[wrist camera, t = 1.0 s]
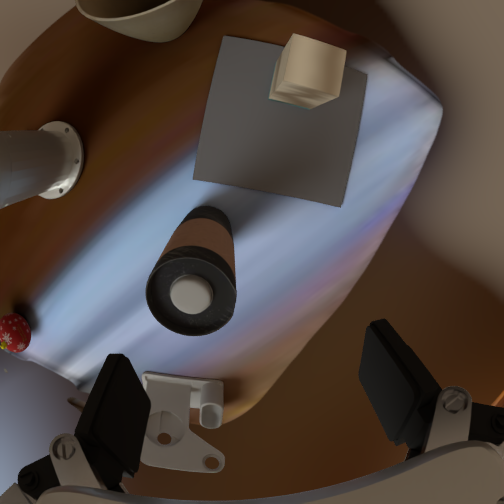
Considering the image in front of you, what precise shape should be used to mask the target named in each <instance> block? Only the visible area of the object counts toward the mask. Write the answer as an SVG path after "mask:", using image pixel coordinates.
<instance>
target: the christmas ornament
mask: <svg viewBox="0 0 504 504" xmlns="http://www.w3.org/2000/svg"><path fill="white" fill-rule="evenodd" d="M30 340H31V330H30V327H29V324H28V323H27V321H26V320H25V319H24V318H23V317H22V316H21V315H19V314H16V313H8V314H6V315H4V316H3V317H2V319H1V320H0V341H1V342H2V343H1V348H2V349H5V348H7V349H8V350H10V351H12V352H22V351H24V350H25V349H26V348H27V347H28V346H29V344H30Z"/></svg>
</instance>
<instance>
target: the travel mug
mask: <svg viewBox="0 0 504 504" xmlns="http://www.w3.org/2000/svg"><path fill="white" fill-rule="evenodd" d="M236 296H237V291H236V277H235V256H234V243H233V237H232V231H231V226H230V222H229V220H228V218H227V216H226V215H225V214H224V213H223V212H222V211H221V210H219V209H217V208H215V207H212V206H201V207H198V208H195V209H193V210H192V211H191V212H190V213H188V215H187V216H186V217H185V218H184V220H183V221H182V222H181V223H180V225H179V226H178V227H177V229H176V230H175V231H174V233H173V235H172V236H171V238H170V240H169V242H168V243H167V245H166V247H165V249H164V250H163V252H162V254H161V256H160V258H159V259H158V261H157V263H156V265H155V267H154V269H153V270H152V272H151V274H150V276H149V279H148V281H147V285H146V300H147V304H148V307H149V309H150V311H151V313H152V315H153V316H154V317H155V319H156V320H157V321H158V322H159V323H160V324H162V325H163V326H164V327H166V328H167V329H169V330H171V331H173V332H175V333H178V334H182V335H186V336H202V335H207V334H210V333H213V332H215V331H217V330H219V329H220V328H222V327H223V326H224V325H225V324H226V323H228V321H229V320H230V319H231V318H232V316H233V313H234V308H235V303H236Z"/></svg>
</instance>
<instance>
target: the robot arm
mask: <svg viewBox="0 0 504 504" xmlns="http://www.w3.org/2000/svg"><path fill="white" fill-rule="evenodd" d="M83 162H84V149H83V143H82V140H81V137H80V135H79V134H78V132H77V131H76V129H75V128H74V127H73V126H71V125H70V124H68V123H66V122H61V121H53V122H50V123H47V124H45V125H44V126H42V127H41V128H40V129H39V130H24V131H0V209H1V208H3V207H6V206H8V205H11V204H13V203H16V202H19V201H21V200H24V199H27V198H29V197H32V196H35V195H39V196H41V197H43V198H47V199H55V198H59V197H61V196H64V195H65V194H67V193H68V192H69V191H70V190H71V189H72V188H73V187H74V186H75V184H76V183H77V181H78V179H79V177H80V175H81V171H82V168H83ZM359 380H360V382H361V384H362V386H363V388H364V390H365V392H366V394H367V396H368V398H369V400H370V402H371V404H372V406H373V408H374V410H375V412H376V414H377V416H378V418H379V420H380V422H381V424H382V426H383V428H384V430H385V432H386V435H387V437H388V439H389V440H390V441H394V443H395V445H396V446H398V445H400V444H402V443H405V442H406V444H407V446H408V447H409V449H408V453H407V455H406V458H405V461H404V462H402V463H399V464H397V465H394V466H392V467H389V468H387V469H384V470H381V471H378V472H376V473H372V474H369V475H367V476H364V477H361V478H358V479H354V480H351V481H348V482H344V483H341V484H337V485H333V486H329V487H325V488H321V489H317V490H312V491H307V492H302V493H296V494H291V495H284V496H277V497H271V498H261V499H251V500H236V501H188V500H172V499H162V498H153V497H146V496H138V495H132V494H129V493H128V491H127V490H126V488H125V487H124V485H123V484H122V482H121V480H122V476H123V477H129V478H133V477H134V473H135V472H137V471H138V469H139V463H140V458H141V453H142V448H143V443H144V438H145V433H146V428H147V423H148V419H149V414H150V410H151V401H150V398H149V397H148V395H147V393H146V391H145V389H144V387H143V386H142V384H141V382H140V380H139V378H138V376H137V374H136V372H135V370H134V368H133V366H132V364H131V362H130V360H129V359H128V358H127V357H125V356H124V355H123V354H109V355H108V356H107V358H106V360H105V362H104V364H103V367H102V369H101V371H100V373H99V375H98V377H97V379H96V382H95V384H94V386H93V388H92V391H91V393H90V395H89V397H88V400H87V402H86V404H85V407H84V409H83V412H82V414H81V417H80V419H79V422H78V424H77V427H76V429H75V434H74V436H73V435H71V434H60V435H58V436H56V437H55V438H54V439H53V440H52V442H51V444H50V447H49V452H50V454H49V455H47V456H45V457H44V458H42V459H40V460H38V461H35V462H34V463H31V464H29V465H27V466H25V467H24V468H22V469H21V471H20V472H19V475H18V484H16V483H14V484H13V485H12V486H11V487H10V488H9V489H8V490H6V492H4V493H3V494H2V496H0V504H504V408H501V407H495V406H489V405H484V404H479V403H474V402H472V398H471V396H470V394H469V393H468V392H467V391H466V390H465V389H463V388H461V387H458V386H450V387H447V388H445V389H443V390H442V389H441V387H440V386H439V384H438V383H437V382H436V380H435V379H434V378H433V376H432V375H431V374H430V372H429V371H428V370H427V368H426V367H425V366H424V364H423V363H422V362H421V361H420V359H419V358H418V357H417V355H416V354H415V353H414V352H413V350H412V349H411V348H410V347H409V346H408V345H406V343H405V342H404V341H403V340H402V338H401V337H400V336H399V335H398V333H397V332H396V331H395V330H394V328H393V327H392V326H391V325H390V323H389V322H388V321H387V320H386V319H380V320H376V321H372V322H371V323H370V326H368V327H367V328H366V333H365V340H364V346H363V352H362V358H361V364H360V369H359Z"/></svg>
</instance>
